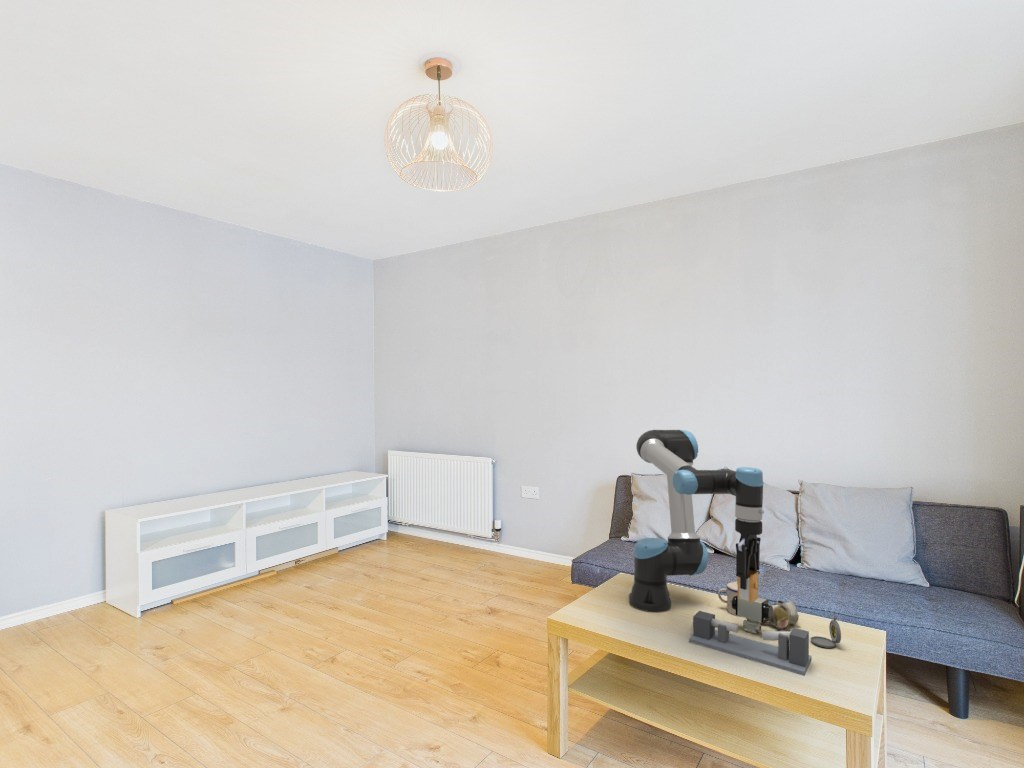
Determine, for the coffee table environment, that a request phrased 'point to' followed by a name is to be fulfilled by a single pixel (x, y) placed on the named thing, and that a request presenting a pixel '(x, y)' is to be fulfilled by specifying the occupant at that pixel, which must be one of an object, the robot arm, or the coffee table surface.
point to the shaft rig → (754, 643)
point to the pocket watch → (834, 633)
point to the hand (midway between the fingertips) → (747, 597)
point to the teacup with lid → (730, 595)
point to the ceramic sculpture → (783, 615)
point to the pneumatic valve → (753, 612)
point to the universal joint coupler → (751, 585)
